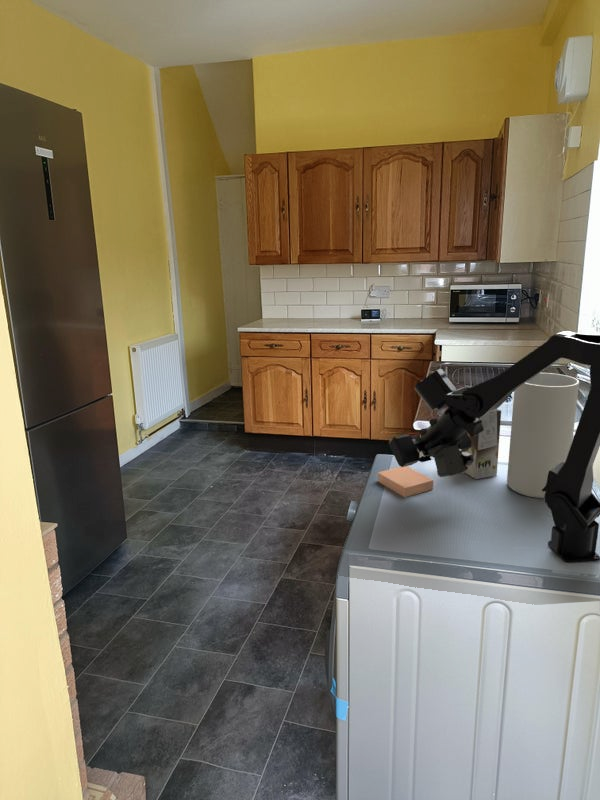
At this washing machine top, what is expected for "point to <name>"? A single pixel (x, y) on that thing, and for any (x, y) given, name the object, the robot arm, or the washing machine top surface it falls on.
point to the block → (405, 481)
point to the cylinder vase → (540, 430)
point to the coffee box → (485, 447)
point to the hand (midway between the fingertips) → (412, 461)
